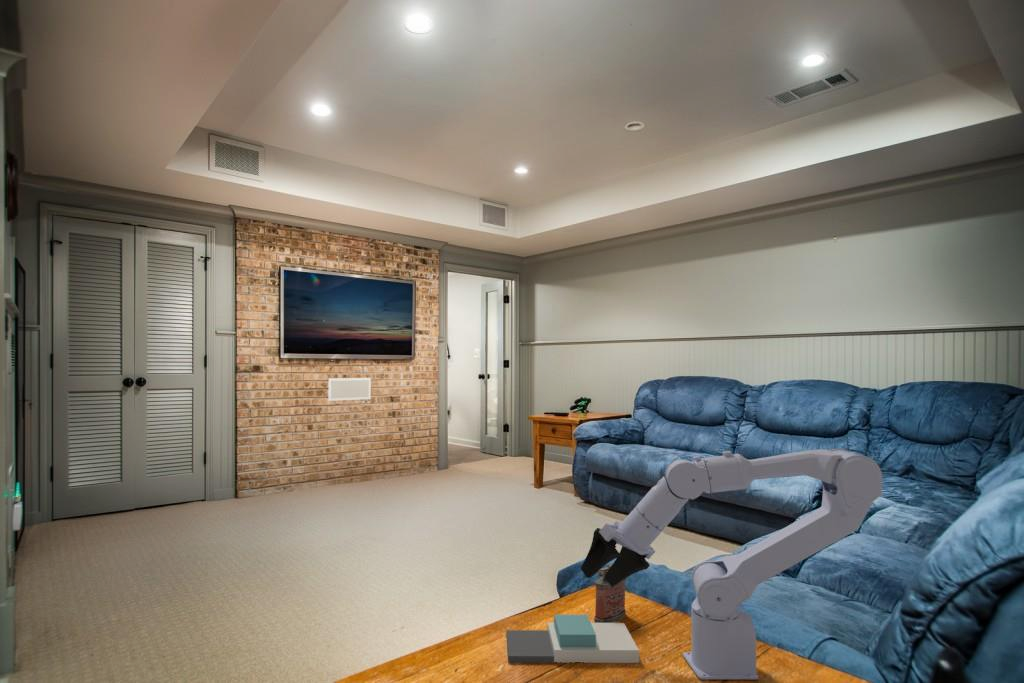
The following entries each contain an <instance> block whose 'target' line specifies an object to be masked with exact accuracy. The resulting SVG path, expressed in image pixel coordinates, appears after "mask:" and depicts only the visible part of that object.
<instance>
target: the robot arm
mask: <svg viewBox="0 0 1024 683" xmlns="http://www.w3.org/2000/svg"><path fill="white" fill-rule="evenodd" d="M692 458H693V462H692V461H690V460H688V459H677V460H674V461H673V462H671V463H668V464H667V465H666V468H665V470H664V471H665V472H664V476H662V478H660V479H659V480H658V481H657V483H656V484H655V485H654V486H652V487H651V488H650V490H648V492H647V493H646V494H645V495H644V496H643V498H642V499H641V500H640V501H639V502H638V503H637V505H635V507H634V508H633V509H632V510H631V511H630V513H629V514H628V515H626V517H625V518H624V519H623V521H622V522H620V521H618V520H615V521H614V522H613V524H609V523H605V524H604V525H603V527H602V528H599V527H597V528H596V529H595V530H594V531H593V535H592V536H593V537H592V540H591V545H590V548H589V550H588V553H587V554H586V556H585V559H584V561H583V562H582V565H581V566H580V570H581V572H582V573H583V575H584V576H585V577H586V578H588V579H590V578H592V577H594V576H595V575H596V574H597V573H599V570H600V569H601V568H604V567H606V566H607V565H608V564H610V562H612V561H614V560H615V561H614V562H613V563H612V564H611V565H612V566H611V567H610V569H609V570H608V571H607V573H606V575H605V579H606V580H607V581H608V583H609V584H610V585H611V586H612V587H613V586H615V585H616V584H618V583H619V582H621V581H622V580H624V579H625V578H626V579H628V577H630V576H632V575H634V574H636V573H639V572H641V571H644V570H647V569H648V568H649V567H650V565H651V564H650V562H648V560H650V558H652V556H653V555H654V554H655V553H656V550H655V549H654V548H653V547H652V545H651V544H652V543H653V542H654V541H655V540H656V539H657V538H658V536H660V534H662V532H663V531H664V530H665V529H666V527H667V526H668V525H669V524H670V523H671V522H672V520H674V518H675V517H676V516H677V515H678V514H679V513H680V511H681V509H682V508H684V506H685V505H686V503H687V502H688V501H689V500H695V499H697V498H699V497H700V496H701V495H702V494H703V492H704V493H706V494H713V493H722V492H731V491H739V490H745V489H748V487H749V486H750V485H751V483H752V482H753V481H754V480H764V479H765V480H767V479H779V478H788V477H802V476H807V477H809V478H813V479H815V480H818V481H821V486H822V500H821V506H820V507H819V508H817V509H815V510H813V511H812V512H810V513H809V514H806V515H804V516H803V517H801V518H800V519H797V520H796V521H794V522H792V523H790V524H789V525H787V526H785V527H783V528H782V529H780V530H778V531H777V532H775V533H772V535H769V536H768V537H766V538H764V539H762V540H761V541H759V542H757V543H756V544H754V545H752V546H750V547H748V548H747V549H745V550H742V551H741V552H740V553H738V554H733V555H732V554H731V555H725V556H724V555H723V556H722V557H720V558H718V559H715V560H705V561H702V562H700V563H698V564H697V565H696V566H695V567H694V569H693V570H692V574H691V582H692V583H691V584H692V586H693V588H694V589H695V592H696V596H695V598H694V600H693V602H691V610H690V611H691V614H690V615H691V617H690V618H691V619H690V621H691V622H690V623H691V624H690V625H691V635H690V637H691V643H690V644H691V645H690V648H691V650H690V651H684V652H682V657H683V658H684V659H685V661H686V662H687V664H688V665H689V667H690V668H691V669H692V670H693V672H694V674H695V675H696V676H697V678H698V679H699V680H758V679H759V675H758V674H757V633H756V628H755V624H754V621H753V619H752V617H751V615H750V613H748V612H747V611H746V610H738V609H739V608H740V606H741V605H742V603H745V602H746V601H747V600H749V599H750V598H751V597H752V596H753V594H754V592H755V590H756V588H757V586H758V585H760V584H763V583H764V582H765V581H767V580H770V579H771V578H773V577H775V576H776V575H779V574H780V573H782V572H784V571H785V570H787V569H789V568H791V567H792V566H795V565H797V564H798V563H800V562H802V561H803V560H806V559H807V558H809V557H810V556H811V557H812V555H814V554H817V553H818V552H820V551H822V550H823V549H825V548H827V547H829V546H831V545H832V544H834V543H837V541H839V540H841V539H843V538H845V537H847V536H848V535H851V534H852V533H855V531H857V530H858V529H859V527H860V526H861V524H862V523H863V521H864V519H865V517H866V516H867V513H868V512H869V510H870V508H871V506H872V505H873V503H874V502H875V501H876V500H877V499H879V498H880V497H881V496H882V494H883V473H882V469H881V468H880V466H879V465H878V463H877V462H876V461H874V460H873V459H872V458H870V457H869V456H866V455H863V454H856V453H853V452H851V451H849V450H846V449H843V448H833V449H829V450H828V449H823V448H822V449H820V448H818V449H808V450H801V451H796V452H795V451H794V452H789V453H784V454H777V455H772V456H766V457H758V458H755V459H747V458H746V457H744V456H743V455H742V454H739V453H733V452H732V451H731V450H727V451H722V455H717V456H709V457H702V458H701V456H699V455H695V456H693V457H692ZM617 545H619V546H620V547H621V548H620V551H618V549H617ZM646 559H647V560H646Z"/></svg>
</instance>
